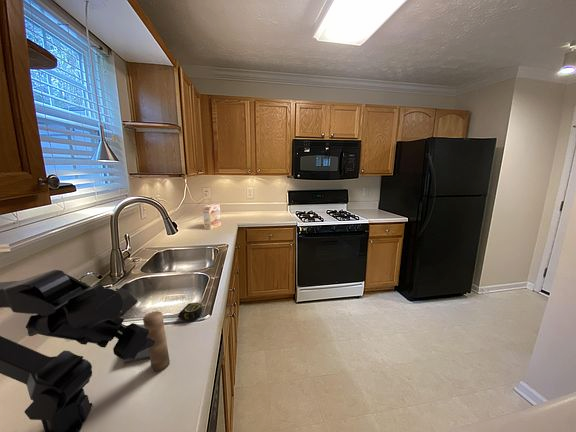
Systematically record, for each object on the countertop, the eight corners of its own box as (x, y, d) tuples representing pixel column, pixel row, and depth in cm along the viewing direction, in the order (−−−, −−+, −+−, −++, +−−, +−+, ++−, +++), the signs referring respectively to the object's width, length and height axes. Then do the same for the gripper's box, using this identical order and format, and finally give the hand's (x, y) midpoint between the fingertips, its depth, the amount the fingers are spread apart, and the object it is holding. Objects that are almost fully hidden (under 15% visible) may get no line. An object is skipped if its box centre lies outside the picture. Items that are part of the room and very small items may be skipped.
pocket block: (123, 363, 67) (121, 354, 66) (132, 343, 74) (130, 335, 74) (155, 356, 69) (154, 347, 68) (161, 337, 77) (159, 329, 76)
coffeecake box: (211, 229, 203) (208, 206, 199) (204, 229, 206) (201, 206, 202) (221, 225, 217) (220, 203, 213) (215, 224, 220) (213, 203, 215)
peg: (150, 373, 63) (140, 323, 60) (153, 361, 67) (145, 313, 64) (168, 369, 65) (160, 319, 61) (170, 357, 69) (163, 310, 65)
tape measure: (189, 309, 91) (188, 301, 90) (206, 311, 90) (205, 302, 89) (178, 321, 85) (177, 311, 84) (196, 323, 83) (195, 313, 83)
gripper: (132, 295, 48) (185, 314, 60) (85, 276, 56) (139, 296, 68) (94, 357, 43) (159, 364, 55) (47, 326, 51) (113, 338, 63)
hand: (142, 337), depth 60 cm, fingers open, 9 cm apart
